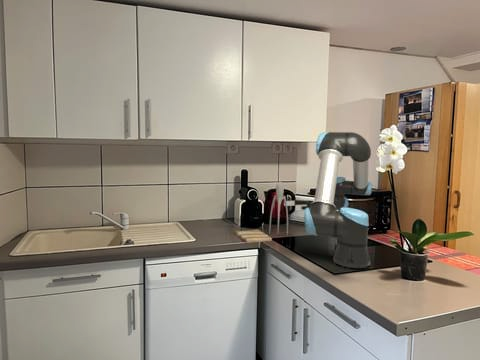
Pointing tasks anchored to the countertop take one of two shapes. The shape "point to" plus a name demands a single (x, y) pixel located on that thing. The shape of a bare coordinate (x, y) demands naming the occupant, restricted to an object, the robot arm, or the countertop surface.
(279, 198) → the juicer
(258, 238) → the trivet
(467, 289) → the countertop surface
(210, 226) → the countertop surface
